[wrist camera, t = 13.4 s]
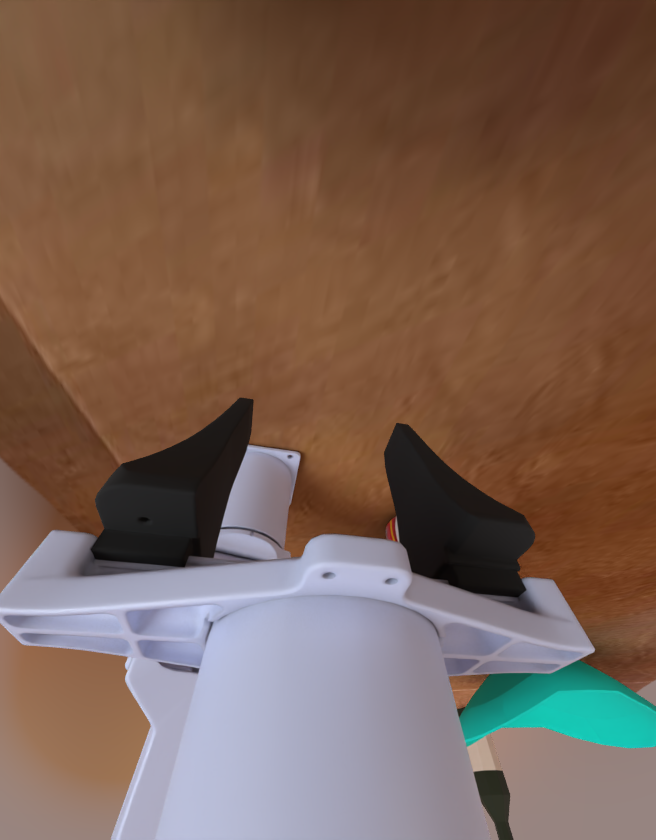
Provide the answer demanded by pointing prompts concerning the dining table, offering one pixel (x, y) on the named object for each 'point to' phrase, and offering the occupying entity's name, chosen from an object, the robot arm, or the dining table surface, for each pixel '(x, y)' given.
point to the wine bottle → (491, 783)
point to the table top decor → (562, 707)
